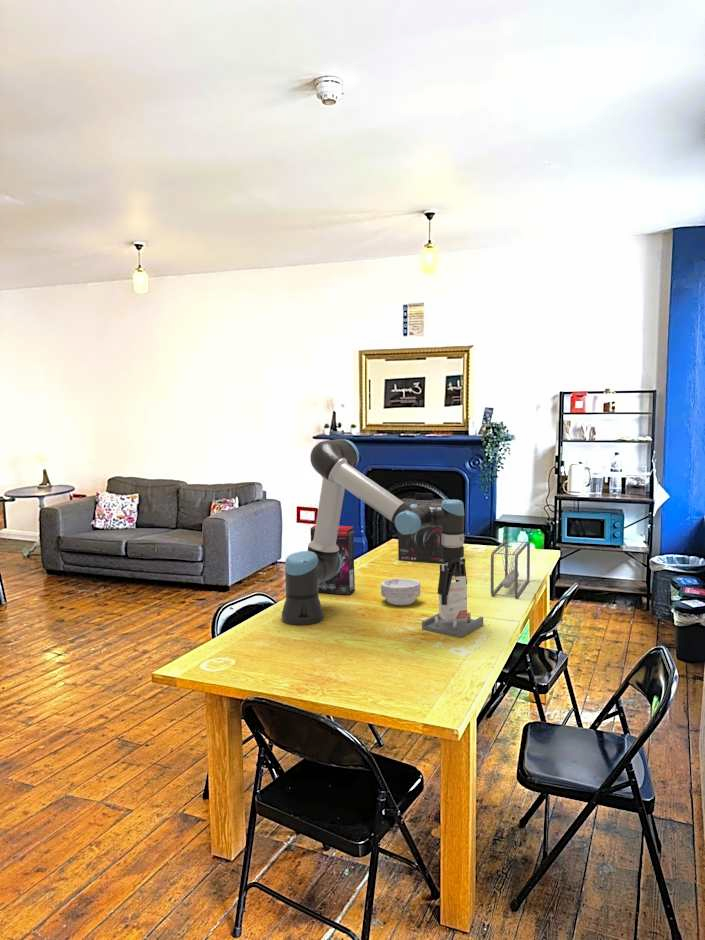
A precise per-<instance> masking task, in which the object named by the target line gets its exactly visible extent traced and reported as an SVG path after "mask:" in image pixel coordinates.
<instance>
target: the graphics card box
mask: <svg viewBox="0 0 705 940" xmlns="http://www.w3.org/2000/svg"><path fill="white" fill-rule="evenodd" d="M315 527H316V524H315V525H314V524H313V526H311V527H310V542H311V541H313V539H314V533H315ZM354 528H355V527H354V526H353V525H352V526H346V525H344V526H343V525H339V528H338V534H337V540H336V545H337V546H338V547H339V555H340V556H341V560H342V564H341V568H340V570H339V572H338V573H337V574H336V575H335V576H334V577H333V578H331V579H329V580H326V581H324V582H322V583H320V584H318V593H321V594H322V593H323V594H337V595H348V596H349V595H351V594H353V593H354V592H355V591H356V588H355V587H356V585H355V580H356V579H355V578H356V577H355V549H354V548H355V547H354V543H355V541H354V538H355V537H354Z"/></svg>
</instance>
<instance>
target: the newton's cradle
mask: <svg viewBox="0 0 705 940" xmlns="http://www.w3.org/2000/svg"><path fill="white" fill-rule="evenodd" d="M511 543H519V544H517V547H516V548H515V549H514V550H513V551H511V546H509V545H510V544H511ZM518 545H519V546H518ZM525 549H526V555H527V556H526V579H525V580H524V579H518V578H519V576H520V573H519V571H518V570H519V569H518V568H519V567H518V565H519V562H518V561H519V560H518V559H519V555H520V554H521V553H522V552H523V551H524V550H525ZM530 551H531V542H530V541H529V540H527V541H518V540H517V541H515V540H508V539H505V540H502V542H501V543H500V544H499V545H498V546H496V548H495V549H494V550H492V552H491V554H490V595H491V596H492V597H493V596H503V597H504V596H505V597H514V598H515V599H518V598H519V597H520V595H521V594H522V593H523V591H524V590H525V588H526V587H527V585H528V583H529V582H530V577H531V576H530V574H531V573H530V571H531V570H530V569H531V568H530V565H531V564H530V563H531V562H530V561H531V552H530ZM502 552H503V553H502ZM495 554H496V555H501V557H502V559H504V561H502V564H503V565H504V566H503V568H504V578H503V579H502V580H501V582H500V583H499V584H498V585H497V587H496V588H494V586H495V585H494V581H495V580H494V575H495V574H494V573H495V570H494V569H495V568H494V564H495V562H494V561H495V560H494V559H495V558H494V557H495ZM503 555H504V557H503ZM509 556H511V557H509ZM509 561H510V563H509ZM509 565H510V566H509ZM508 571H509V572H508ZM518 581H519V582H524V583H523V584H522V586H521V587H520V589H519V587H518V584H519V583H518ZM513 584H514V595H510V594H499V593H497V592H498V591H499V590H500V589H501V588H502V587H503V588H505V589H509V588H511V587H512V586H513ZM518 589H519V590H518Z"/></svg>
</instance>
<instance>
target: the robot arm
mask: <svg viewBox="0 0 705 940" xmlns="http://www.w3.org/2000/svg"><path fill="white" fill-rule="evenodd" d="M309 457H310V463H311V466H312V468H313V470H315V472H316V473H318V475H320V477H321V478H322V483H321V487H320V488H321V489H320V495H319V500H318V501H319V502H318V507H317V508H318V509H317V515H316V522H315V525H316V527H315V533H314V539H313V541H311V540H310V542H309V543H308V544H307V545H308V546H307V550H304V551H303V550H302V551H297V552H293V553H291V554H289V555H288V556H287V557H286V559H285V563H284V564H285V565H284V572H285V601H284V603H283V607H282V611H281V621H282V622H284V623H285V624H290V625H296V626H297V625H298V626H303V625H304V626H305V625H313V624H318V623H319V622H322V621H323V620H324V618H325V614H324V609H323V608H322V605H321V601H320V598H319V597H320V596H319V592H318V584H320V583H322V582H324V581H326V580H329V579H331V578H333V577H334V576H335V575H336V574H337V573H338V572H339V570H340V568H341V564H342V560H341V556H340V555H339V547H338V546H337V545H336V540H337V534H338V528H339V526H340V521H341V515H342V508H343V502H344V496H345V490H346V491H348V493H349V492H350V493H351V494H352V495H353V496H354V497H356V498H358V499H359V500H361V501H362V502H364V503H365V504H366V505H368V506H369V507H371V508H372V509H373V510H375V511H376V512H378V513H379V514H380V515H382V516H383V517H385V518H386V519H387V520H389V521H390V522H392V523H393V524H394V527H395V528H396V530H397V532H398V531H399V532H400V533H402V534H412V533H415V532H417V531H418V530H420V529H423V528H425V527H441V528H442V545H443V546H442V557H444V558H445V563H443V564H440V565H439V577H438V586H437V594H438V595H439V594H440V595H441V613H443V614H448V615H449V614H450V595H448V593H449V589H450V584H451V582H452V581H453V580H452V577H458V576H466V585H467V586H468V579H467V578H468V577H467V570H466V557H465V558H464V556H465V547H464V545H465V508H464V507H465V506H464V502H463V501H462V500H459V499H449V500H443V501H442V504H441V505H424V504H412V505H410V506H408V505H407V504H405V503H404V502H403V501H401V499H400V498H398V497H397V496H395V495H394V494H393V493H391V492H390V491H389V490H387V489H385V488H384V487H383V486H380V485H379V484H378V483H377V482H375V481H374V480H372V479H370V478H369V477H367V476H366V475H365V474H363V473H362V472H360V471H359V470H357V469H356V468H355V467H356V466H357V465H358V463H359V461H360V452H359V449H358V448H357V446H356V444H355V443H354V442H353V441H350V440H349V439H342V438H336V439H332V440H331V439H330V440H322V441H320V442H318V443H316V444H315V445H314V447H313V448H312V449H311V452H310V455H309ZM451 580H452V581H451ZM454 582H459V580H456V579H455V580H454Z"/></svg>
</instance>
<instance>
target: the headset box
mask: <svg viewBox="0 0 705 940" xmlns="http://www.w3.org/2000/svg"><path fill="white" fill-rule="evenodd" d="M400 500H401V501H403V502H404V503H405V504H407V505H408V506H410V505H412V504H424V505H441V504H442V501H443V500H450V499H444V498H442V499H441V498H440V499H437V498H434V495H433V493H431V492H430V493H429V492H423V493H422V492H416V493H415V494H414V498H407V497H405V498H404V497H403V498H402V499H400ZM397 545H398V546H397V548H398V550H397V553H398V555H397V556H398V561H404V562H419V563H420V562H421V563H432V564H433V563H436V564H444V563H445V558H444V557H442V546H443V545H442V528H441V527H425V528H423V529H420V530H418V531H417V532H415V533H412V534H402V533H400V532H399V531H398V530H397Z"/></svg>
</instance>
